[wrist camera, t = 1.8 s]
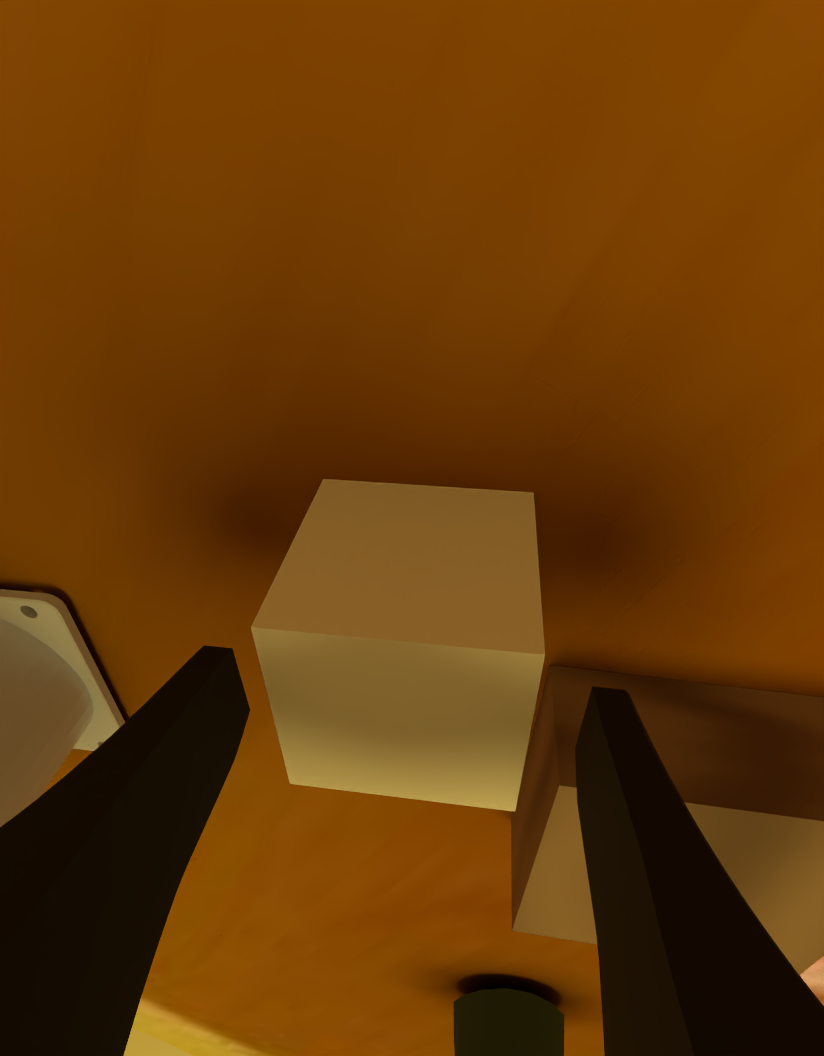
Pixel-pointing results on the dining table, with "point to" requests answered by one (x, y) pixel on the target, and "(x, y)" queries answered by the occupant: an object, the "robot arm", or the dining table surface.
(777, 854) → the walnut block
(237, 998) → the dining table surface
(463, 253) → the dining table surface
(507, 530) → the cream cube
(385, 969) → the dining table surface
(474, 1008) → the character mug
